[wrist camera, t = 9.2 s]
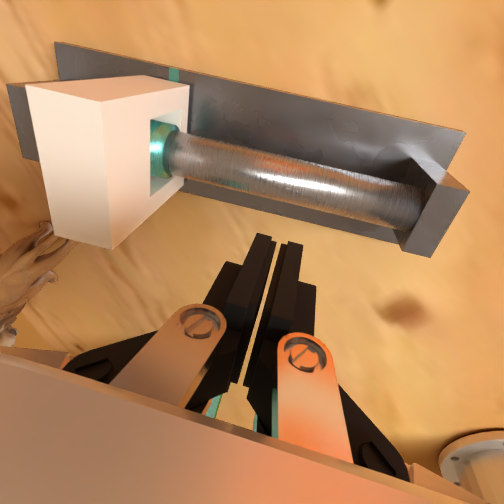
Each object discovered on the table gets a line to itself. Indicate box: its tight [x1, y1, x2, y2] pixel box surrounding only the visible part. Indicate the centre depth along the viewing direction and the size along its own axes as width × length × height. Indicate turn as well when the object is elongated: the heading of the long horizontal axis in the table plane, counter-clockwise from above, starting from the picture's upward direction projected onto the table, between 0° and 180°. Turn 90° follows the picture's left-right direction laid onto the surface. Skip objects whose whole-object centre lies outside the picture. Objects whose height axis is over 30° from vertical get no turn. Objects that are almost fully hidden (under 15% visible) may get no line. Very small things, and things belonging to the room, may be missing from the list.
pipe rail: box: [6, 42, 470, 258], centre depth 19 cm, size 26×8×6 cm, turn 80°
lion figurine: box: [0, 221, 78, 347], centre depth 27 cm, size 15×5×9 cm, turn 144°
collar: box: [25, 75, 190, 250], centre depth 17 cm, size 3×7×9 cm, turn 170°
